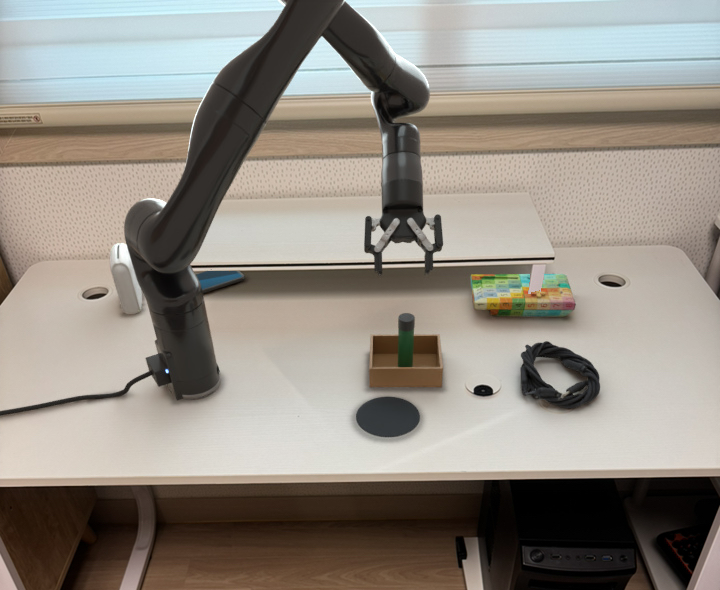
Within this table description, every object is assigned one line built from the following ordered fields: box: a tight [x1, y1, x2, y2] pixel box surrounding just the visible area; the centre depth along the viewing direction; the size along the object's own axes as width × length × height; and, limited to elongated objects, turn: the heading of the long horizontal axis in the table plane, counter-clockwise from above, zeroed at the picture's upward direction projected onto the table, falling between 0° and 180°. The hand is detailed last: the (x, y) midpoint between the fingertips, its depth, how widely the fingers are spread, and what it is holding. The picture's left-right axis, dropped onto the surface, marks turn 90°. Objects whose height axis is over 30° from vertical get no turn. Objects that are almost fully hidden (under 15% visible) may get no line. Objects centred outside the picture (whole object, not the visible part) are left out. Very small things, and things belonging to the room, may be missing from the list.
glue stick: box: [397, 312, 416, 367], centre depth 125 cm, size 3×3×11 cm
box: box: [368, 333, 444, 388], centre depth 127 cm, size 13×11×4 cm
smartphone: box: [195, 270, 246, 294], centre depth 154 cm, size 8×15×1 cm, turn 123°
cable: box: [520, 340, 601, 409], centre depth 125 cm, size 17×14×4 cm
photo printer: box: [109, 242, 143, 315], centre depth 145 cm, size 10×4×12 cm, turn 12°
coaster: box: [355, 396, 421, 438], centre depth 119 cm, size 11×11×1 cm
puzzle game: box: [469, 273, 577, 318], centre depth 143 cm, size 12×5×20 cm
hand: (403, 274), depth 126 cm, fingers open, 8 cm apart
